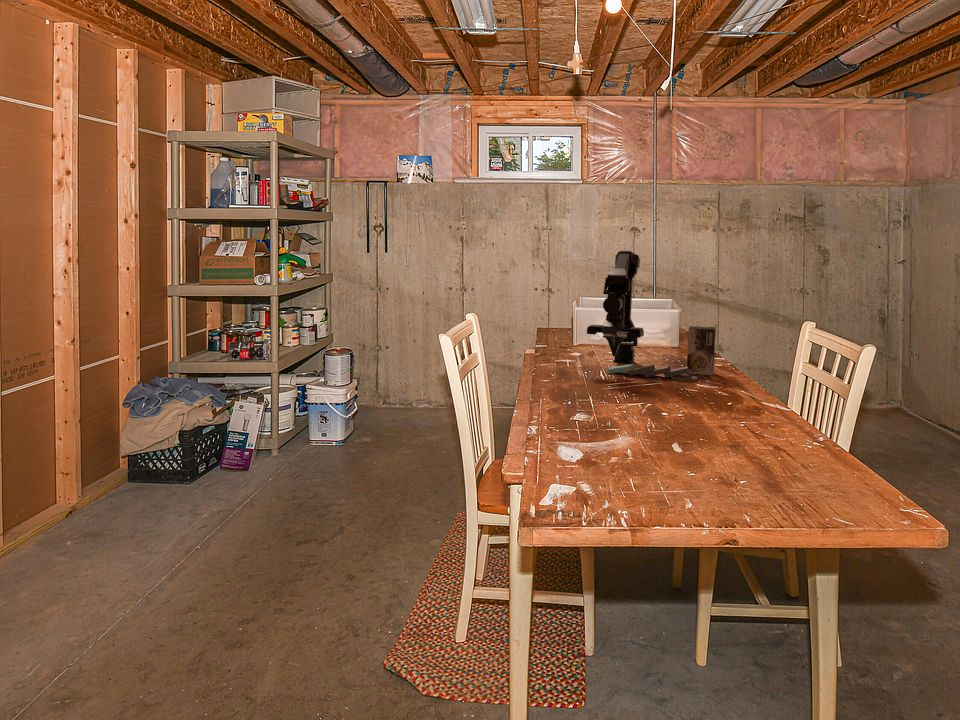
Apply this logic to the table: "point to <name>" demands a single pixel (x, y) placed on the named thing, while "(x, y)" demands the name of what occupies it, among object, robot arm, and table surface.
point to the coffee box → (701, 350)
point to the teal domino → (621, 368)
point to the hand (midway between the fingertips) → (614, 355)
